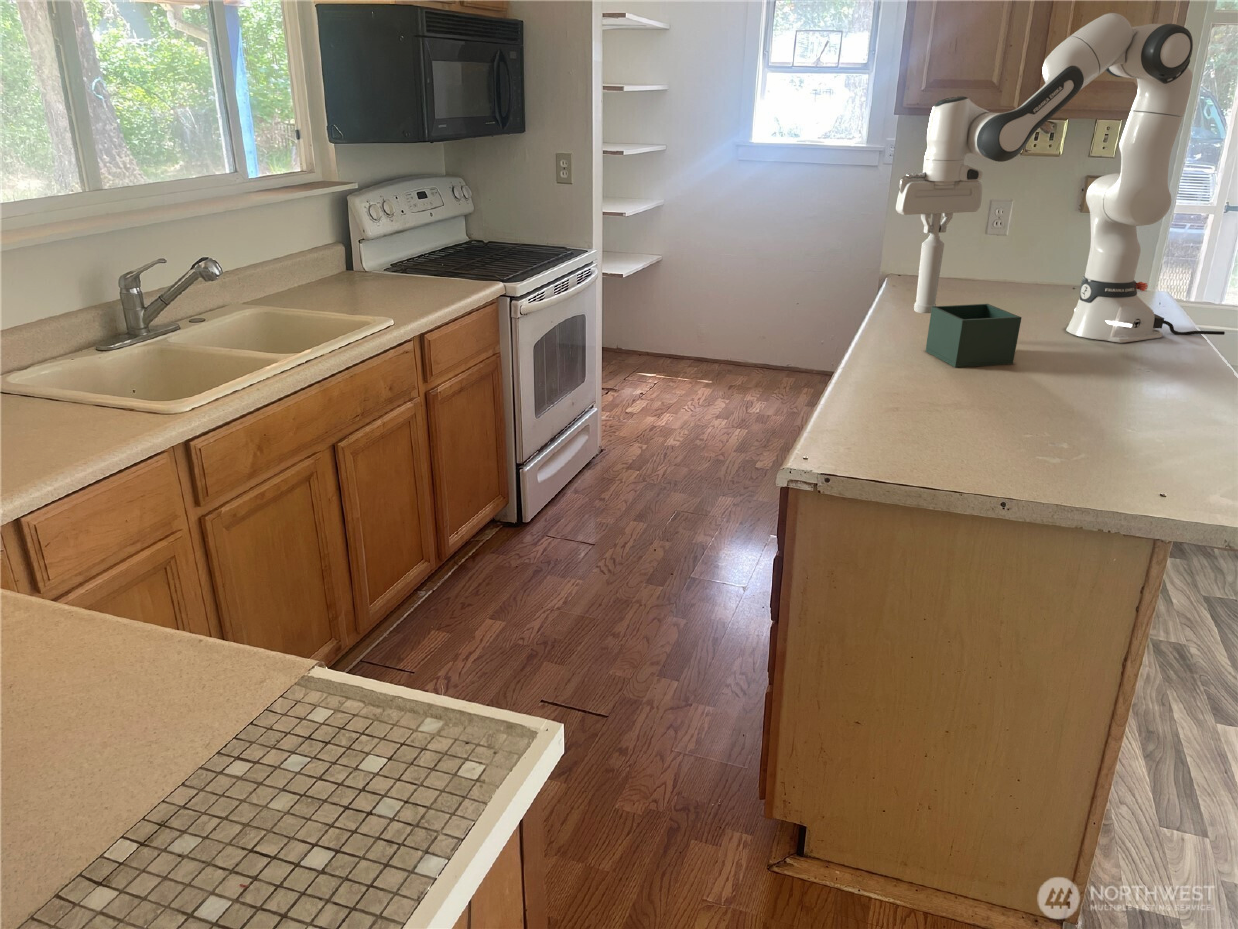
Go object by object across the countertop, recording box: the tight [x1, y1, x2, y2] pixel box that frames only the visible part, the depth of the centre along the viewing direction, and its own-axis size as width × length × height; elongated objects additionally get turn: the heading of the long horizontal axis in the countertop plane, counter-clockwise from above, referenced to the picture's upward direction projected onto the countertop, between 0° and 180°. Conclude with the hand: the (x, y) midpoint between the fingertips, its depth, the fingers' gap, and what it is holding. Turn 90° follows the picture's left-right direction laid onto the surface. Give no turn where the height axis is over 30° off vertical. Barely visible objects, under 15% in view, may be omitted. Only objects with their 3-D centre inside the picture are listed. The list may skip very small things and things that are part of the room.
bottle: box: [913, 213, 945, 314], centre depth 211 cm, size 5×5×25 cm
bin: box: [925, 303, 1022, 369], centre depth 203 cm, size 15×14×11 cm
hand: (934, 232), depth 209 cm, fingers closed on bottle, 2 cm apart
